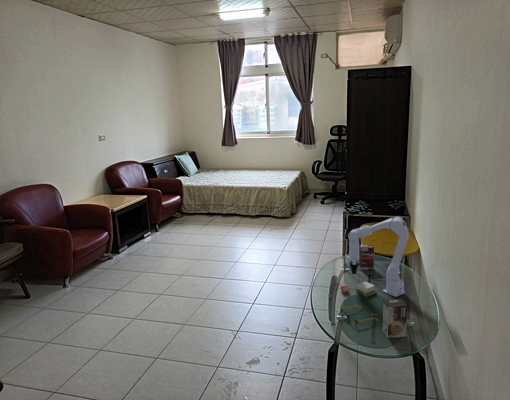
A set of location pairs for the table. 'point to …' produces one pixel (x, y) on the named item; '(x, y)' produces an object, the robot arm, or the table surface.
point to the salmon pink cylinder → (344, 288)
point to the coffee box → (394, 318)
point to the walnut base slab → (366, 293)
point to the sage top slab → (365, 287)
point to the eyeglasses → (354, 319)
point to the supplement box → (366, 257)
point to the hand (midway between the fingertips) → (354, 271)
